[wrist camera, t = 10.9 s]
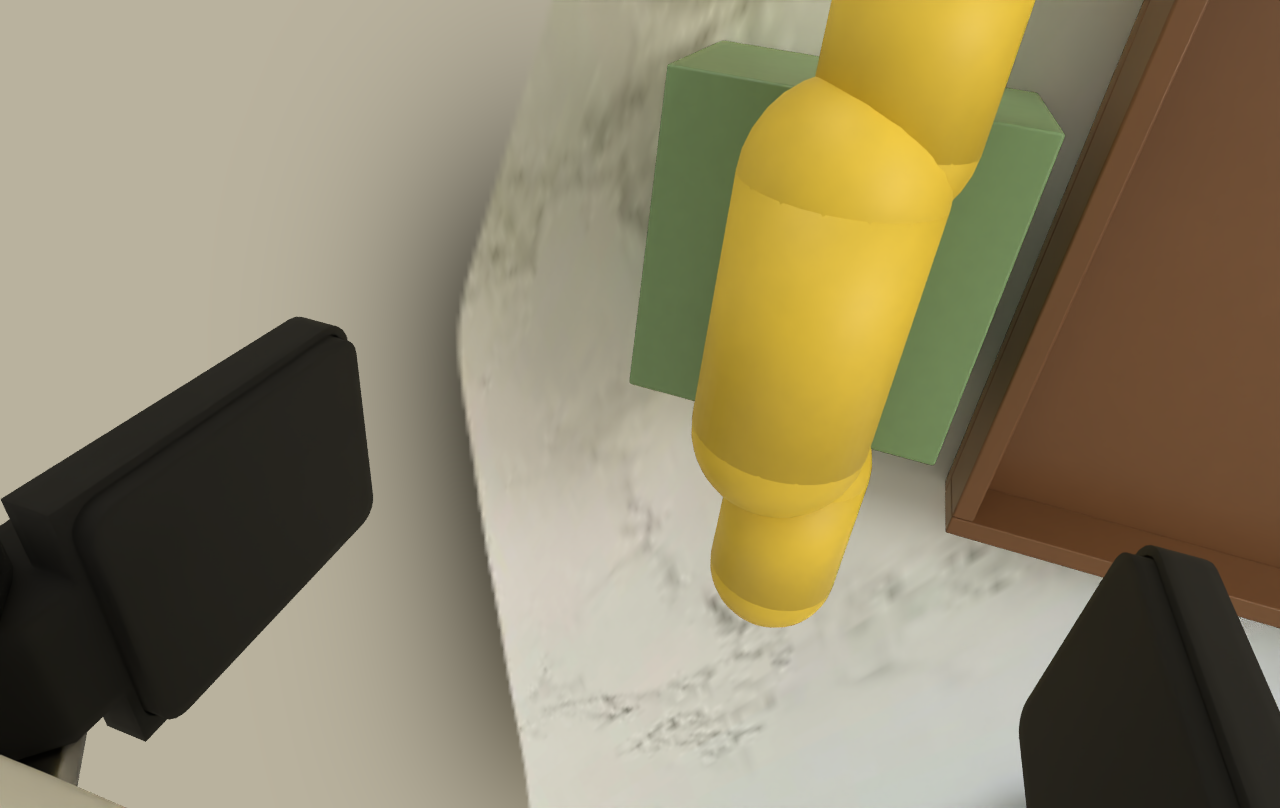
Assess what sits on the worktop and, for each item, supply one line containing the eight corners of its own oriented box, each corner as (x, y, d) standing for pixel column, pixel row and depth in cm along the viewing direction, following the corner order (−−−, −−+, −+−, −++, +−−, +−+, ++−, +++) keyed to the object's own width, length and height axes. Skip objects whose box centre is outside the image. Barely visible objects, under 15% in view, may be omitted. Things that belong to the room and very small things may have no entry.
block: (721, 39, 20) (666, 63, 16) (1038, 92, 19) (1066, 133, 15) (679, 311, 25) (628, 384, 21) (935, 374, 23) (934, 467, 19)
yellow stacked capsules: (805, -208, 13) (807, -254, 10) (1064, -178, 13) (1157, -214, 9) (670, 544, 23) (648, 651, 19) (818, 574, 22) (821, 689, 19)
